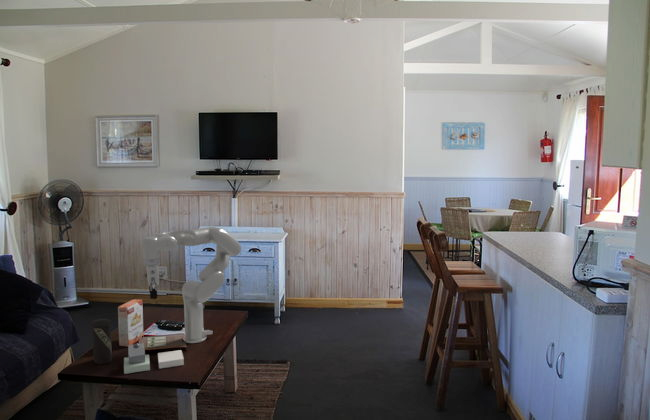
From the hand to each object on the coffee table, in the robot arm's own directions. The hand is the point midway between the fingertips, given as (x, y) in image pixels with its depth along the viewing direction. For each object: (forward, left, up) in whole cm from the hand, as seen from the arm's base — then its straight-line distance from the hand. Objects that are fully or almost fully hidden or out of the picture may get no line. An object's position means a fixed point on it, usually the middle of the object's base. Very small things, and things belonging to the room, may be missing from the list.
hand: (153, 295), depth 247 cm
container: (+24, +4, -28) cm, 37 cm away
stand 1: (+9, +17, -28) cm, 34 cm away
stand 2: (-6, +17, -28) cm, 34 cm away
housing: (+9, +17, -25) cm, 32 cm away
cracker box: (+11, -16, -28) cm, 34 cm away
